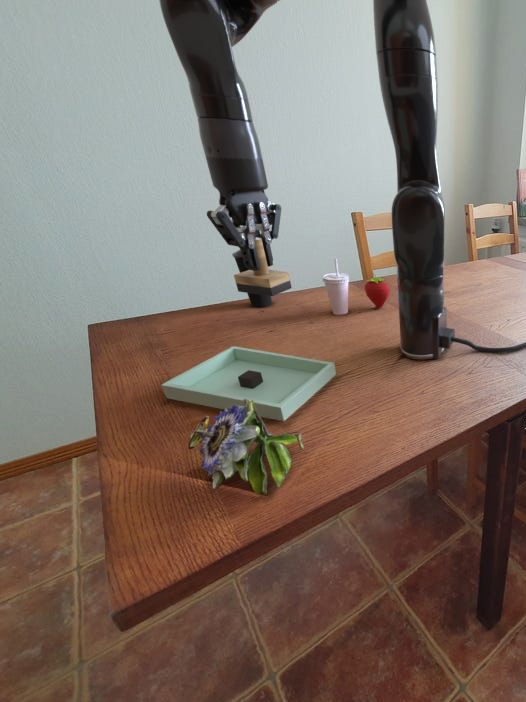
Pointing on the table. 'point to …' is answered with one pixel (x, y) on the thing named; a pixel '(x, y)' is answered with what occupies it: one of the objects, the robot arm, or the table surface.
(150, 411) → the table surface
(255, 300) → the drinking cup
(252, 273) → the brush
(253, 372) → the crumb
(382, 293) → the strawberry
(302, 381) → the tray
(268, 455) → the passion flower
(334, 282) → the smoothie
